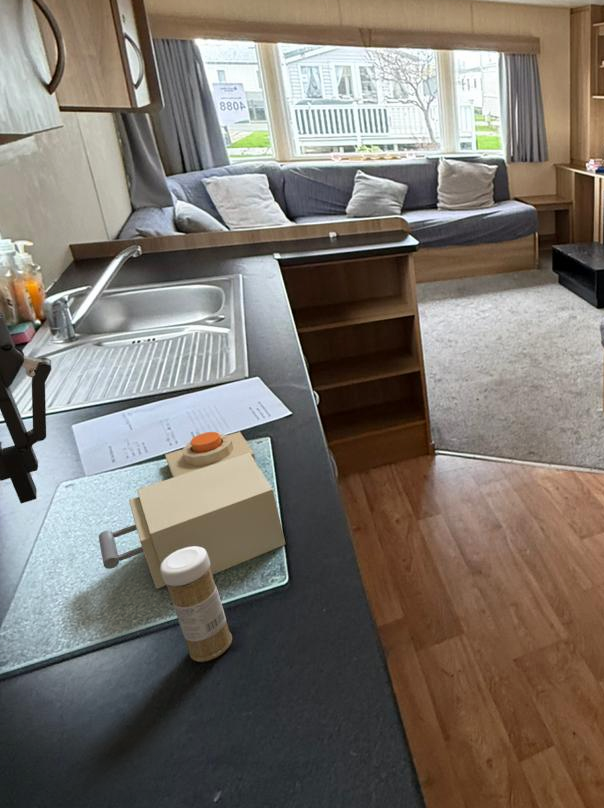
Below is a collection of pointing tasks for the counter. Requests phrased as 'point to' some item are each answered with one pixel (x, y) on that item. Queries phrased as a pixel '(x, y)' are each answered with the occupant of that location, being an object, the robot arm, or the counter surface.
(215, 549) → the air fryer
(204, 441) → the button
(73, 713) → the counter surface
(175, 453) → the panel
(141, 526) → the pull-out drawer
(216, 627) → the sprinkles bottle
